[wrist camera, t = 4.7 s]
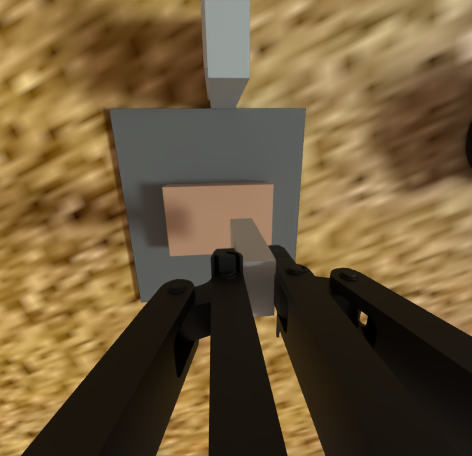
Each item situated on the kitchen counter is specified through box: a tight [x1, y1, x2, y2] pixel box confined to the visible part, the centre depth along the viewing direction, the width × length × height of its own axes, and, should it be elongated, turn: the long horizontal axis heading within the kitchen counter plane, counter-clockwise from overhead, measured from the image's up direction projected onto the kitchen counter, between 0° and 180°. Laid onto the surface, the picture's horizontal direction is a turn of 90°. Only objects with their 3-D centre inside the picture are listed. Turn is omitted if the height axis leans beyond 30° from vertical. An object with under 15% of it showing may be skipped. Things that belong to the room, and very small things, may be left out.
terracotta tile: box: [162, 181, 274, 256], centre depth 21 cm, size 6×2×9 cm
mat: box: [109, 108, 306, 302], centre depth 22 cm, size 18×16×1 cm
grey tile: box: [200, 0, 250, 109], centre depth 15 cm, size 6×2×9 cm, turn 1°
